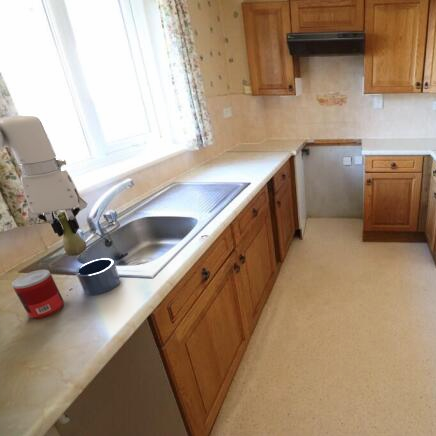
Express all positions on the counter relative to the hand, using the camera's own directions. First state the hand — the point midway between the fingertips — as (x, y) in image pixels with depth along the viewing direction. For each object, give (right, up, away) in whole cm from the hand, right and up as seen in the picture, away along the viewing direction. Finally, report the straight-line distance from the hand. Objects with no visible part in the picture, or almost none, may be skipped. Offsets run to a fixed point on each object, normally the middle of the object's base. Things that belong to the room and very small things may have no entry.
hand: (68, 232), depth 88 cm
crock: (0, -17, +13) cm, 22 cm away
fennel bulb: (0, -6, +3) cm, 7 cm away
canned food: (-9, -22, +4) cm, 24 cm away
